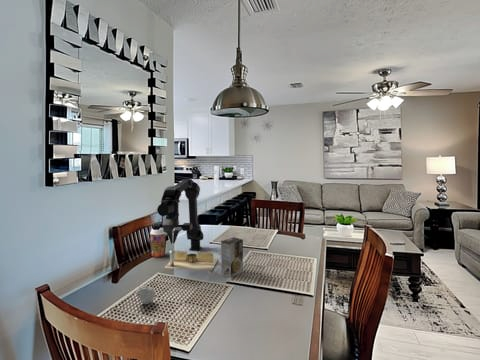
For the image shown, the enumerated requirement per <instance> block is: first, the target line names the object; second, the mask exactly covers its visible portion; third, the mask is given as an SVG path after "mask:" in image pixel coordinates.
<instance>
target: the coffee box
mask: <svg viewBox="0 0 480 360" xmlns="http://www.w3.org/2000/svg"><path fill="white" fill-rule="evenodd" d="M220 243H221V248H220V249H221V250H220V251H221V252H220V255H221V256H220V257H221V259H220V260H221V262H220V263H221V264H220V265H221V266H220V269H221V271H220V272H221V275H222V276H226V277H228V278H233V277H235V276H237V275H239V274H241V273H243V272H244V253H243V252H244V239H241V238H238V237H234V236H233V237H229V238H227V239H224V240H221V242H220Z"/></svg>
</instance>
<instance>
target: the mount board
mask: <svg viewBox="0 0 480 360" xmlns="http://www.w3.org/2000/svg"><path fill="white" fill-rule="evenodd" d="M218 261H219V258H213V262H205V261H198V257H197V262H194V263H188V262H187V261H174V266H172V267H171V266H170V261H169V262H168V263H167V264H166V265H165V266H164V269H176V270H177V269H179V270H180V269H181V270H183V269H184V270H199V271H200V270H201V271H203V270H204V271H209V272H213V270H214V268H215V266H216V265H217V263H218Z"/></svg>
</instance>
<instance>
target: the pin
mask: <svg viewBox="0 0 480 360" xmlns="http://www.w3.org/2000/svg"><path fill="white" fill-rule="evenodd" d="M175 251H176V250H173V249H170V250H169V252H168V253H169V262H170V266H171V267H172V266H174V252H175Z"/></svg>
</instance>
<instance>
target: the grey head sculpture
mask: <svg viewBox="0 0 480 360" xmlns="http://www.w3.org/2000/svg"><path fill="white" fill-rule="evenodd" d="M155 291H156V290H155V288H154V287H152V286H148V285H140V286H139V287H138V289H137V290H136V291H135V292H136V296H137V297H138V298H139V301H140V302H141V304H143V305H148V304H151V302H152V301H153V300H154V298H155V294H156V293H155Z"/></svg>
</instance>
